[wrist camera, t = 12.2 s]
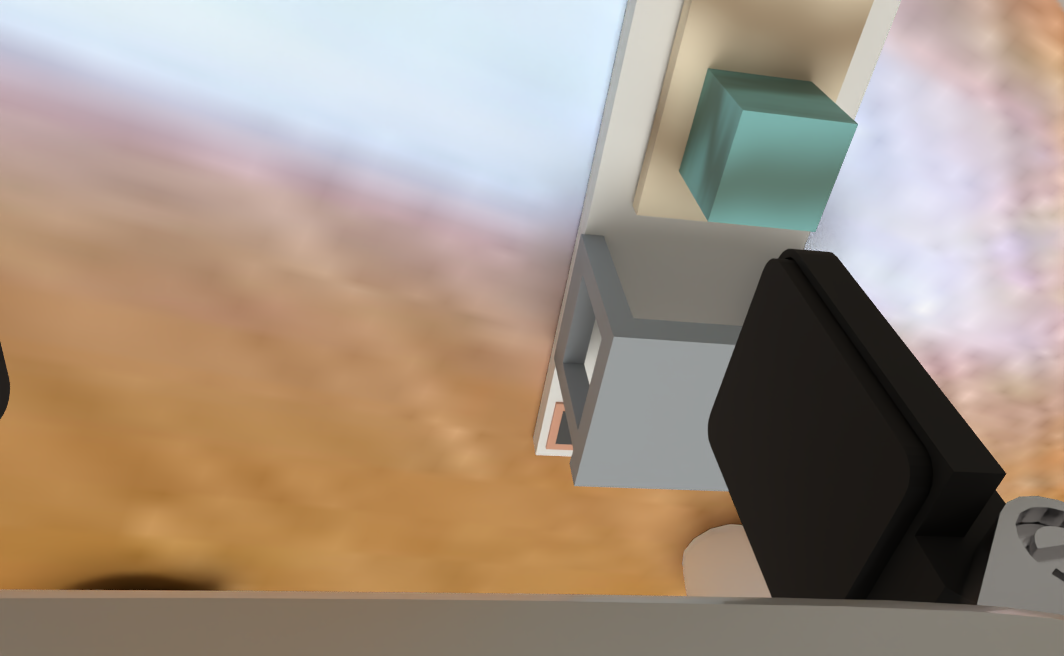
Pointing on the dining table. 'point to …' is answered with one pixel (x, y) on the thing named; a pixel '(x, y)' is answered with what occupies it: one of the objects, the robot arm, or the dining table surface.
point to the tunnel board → (656, 290)
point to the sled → (752, 113)
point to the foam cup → (723, 565)
